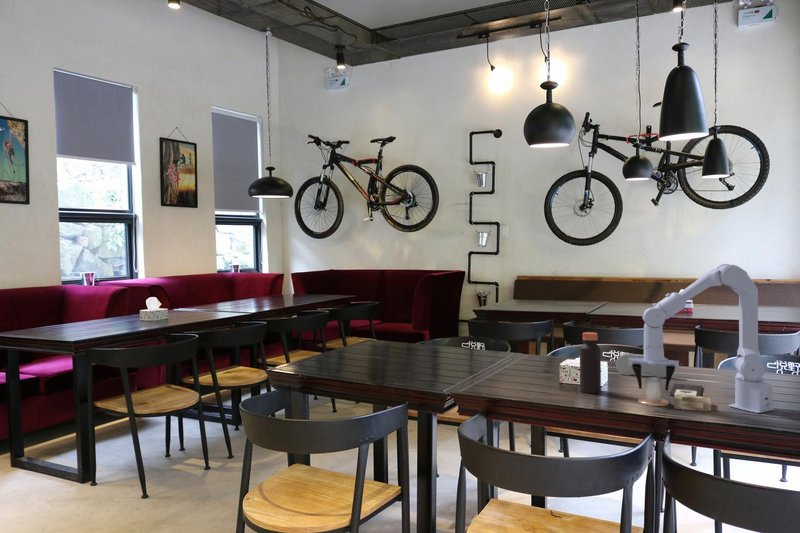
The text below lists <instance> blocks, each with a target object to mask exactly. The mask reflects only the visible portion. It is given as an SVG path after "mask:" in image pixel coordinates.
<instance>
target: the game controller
mask: <svg viewBox="0 0 800 533" xmlns="http://www.w3.org/2000/svg"><path fill="white" fill-rule="evenodd" d="M629 358H644V354H639V353H638V354H635V353H627V352H626V353H622V354H621V355H620V356H618V358H617V359H616V362H615V367H616V370H617V371H618V372H619V373H620V374H621V375H622V376H633V375H634V374H635V373H634V371H633V368H632V365H629ZM663 359H665V360H669V359H668V358H667V357H665V356H664V355H663ZM658 365H660V364H658ZM641 375H647V376H649V375H650V376H652V377H653V378H659V379H662V378H663V379H664V378H666V367H660V366H644V365H641Z"/></svg>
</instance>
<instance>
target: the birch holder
mask: <svg viewBox="0 0 800 533" xmlns="http://www.w3.org/2000/svg"><path fill="white" fill-rule="evenodd" d="M673 398H674V400H673V402H674V403H673V409H674V408H675V409H676V410H685V409H686V411H687V410H688V411H697V410H698V411H697V412H700V411H701V412H708V411H711V412H712V403H711V398H710V397H709V396H701V397H699V396H686V395H675V396H674V397H673Z"/></svg>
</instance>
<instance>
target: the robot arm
mask: <svg viewBox="0 0 800 533" xmlns="http://www.w3.org/2000/svg"><path fill="white" fill-rule="evenodd" d="M722 285H724V286H726V287H729V288H730V289H731V290H732V291H734V292H735V293H736V294H737V296H738V338H739V339H738V341H739V342H738V348H737V351H736V352H737V353H736V358H735V359H734V361H733V367H734V369H735V370H736V372H737V373H736V374H735V378H734V381H735V382H734V383H735V384H734V385H735V386H734V393H735V395H734V400H735V401H734V403H731V404H728V407H731V408H735V409H739V410H743V411H747V412H752V413H755V414H760V413H764V412H765V413H766V412H771V411H775V408H774V407H773V404H774V402H773V399H774V398H773V394H774V393H773V391H774V390H773V386H772V384H771V383H770V382H766V381H764V380H763V379H764V378H763V376H764V374H765V367H764V364H763V362H762V356H761V352H760V350H759V290H758V287H757V286H756V284H755V283H754V281H753V280H752V278H751V277H750V275H749V274H748V272H747V271H746V270H744V269H743V268H741V267H740V266H738V265H735V264H729V263H723V264H720V265H719V266H717V267H716V268H713V269H711V270H710V271H708V272H706V273H704V274H703V275H702V276H700V277H699V278H698V279H696V280H695V281H694V282H692V283H690V284H689V285H688V286H687V287H686V288H684V289H683V290H682V291H680V292H671V293H669V292H668V293H666V294H665V297H664V298H662V299H661V300H660V301H658V302H657V303H655V302H654V303H652V307H649V308H647V309H645V310H644V311H643V313H642V316H641V317H642V320H643V322H644V325H643V355H644V358H629V365H632V368H633V371H634V373H635V377H636V380H637V384H638V389H642V387H643V385H642V384H643V383H642V382H643V381H642V374H641V365H644V366H660V367H666V377H665V391H669V385H670V382H671V379H672V377H673V374H674V373H675V371H676V369H679V368H680V367H679V366H680V363H679V362H680V361H679V360H672V359H668V360H665V359H663V356H664V330H663V325H664V324H665V321H666V320H668V319H670V318H672V317H673V316H675V315H676V314H677V313H679V312H680V311H682V310H683V309H685V308H686V307H687V306H686V305H687V302H688V301H689V300H691V299H692V298H694V297H696V296H697V295H699V294H701V293H702V292H703V291H705V290H707V289H708V288H711V287H721V286H722ZM658 364H660V365H658Z"/></svg>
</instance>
